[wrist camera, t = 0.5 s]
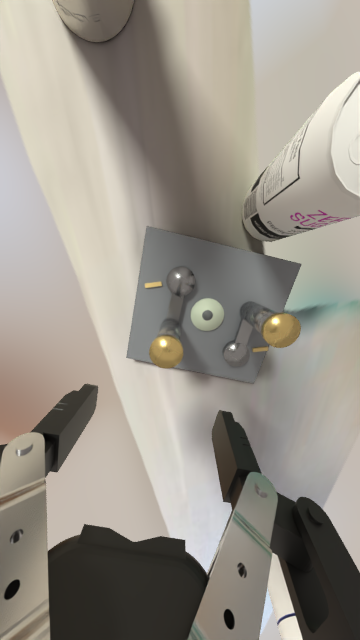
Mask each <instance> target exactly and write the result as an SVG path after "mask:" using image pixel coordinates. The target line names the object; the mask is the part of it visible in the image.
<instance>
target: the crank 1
mask: <svg viewBox="0 0 360 640" xmlns="http://www.w3.org/2000/svg"><path fill="white" fill-rule="evenodd" d="M166 283H167V287H168V289H169V290H170V292H171V293H172V294H171V299H170V304H169V308H168V313H167V318H166V319H164V320H163V321H162V323H161V326H160V329H159V332H158V335H157V338H155V339H154V340H153V342H152V344H151V346H150V349H149V356H150V359H151V360H152V362H153V363H154V364H155V365H157V366H158V367H161V368H172V367H175V366H176V365H178V364H179V363H180V362H181V360H182V358H183V346H182V343H181V342H180V331H181V326H180V323H179V321H178V320H179V316H180V312H181V308H182V303H183V299H184V296H185V295H187V294H189V293H190V292H191V291H192V290H193V289H194V286H195V276H194V274H193V272H192V271H191V270H190V269H188V268H186V267H181V266H180V267H176V268H174V269H172V270H171V271H170V272H169V274H168V276H167V279H166Z"/></svg>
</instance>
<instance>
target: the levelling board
mask: <svg viewBox="0 0 360 640" xmlns="http://www.w3.org/2000/svg"><path fill="white" fill-rule="evenodd" d="M180 266H181V267H186V268H188V269H190V270H191V271H192V272H193V274H194V276H195V286H194V289H193V290H192V291H191V292H190V293H189V294H187V295H185V296H184V299H183V303H182V308H181V312H180V316H179V320H178V321H179V323H180V326H181V331H180V342H181V343H182V346H183V358H182V360H181V362H180V363H179V364H178V365H176V366H175V368H179V369H184V370H189V371H194V372H199V373H204V374H209V375H214V376H219V377H224V378H229V379H234V380H239V381H244V382H249V383H254V382H255V379H256V377H257V374H258V372H259V369H260V367H261V364H262V362H263V359H264V357H265V354H266V352H267V351H268V347H269V344H268V343H267V342H266V341H265V340H264V339H263V337H262V334H261V333H260V332H258V331H257V330H256V329H255V328H254V327H253V328H252V331H251V334H250V337H249V340H248V342H247V345H246V346H247V347H248V349H249V351H250V357H249V360H248V361H247V362H246V363H245V364H244V365H242V366H237V367H234V366H231V365H229V364H228V363H227V362H226V361H225V359H224V357H223V354H222V351H223V348H224V346H225V345H226V344H227V343H228V342H230V341H233V340H234V339H235V336H236V333H237V330H238V327H239V324H240V321H241V318H242V317H241V316H240V309H241V307H242V305H243V304H244V303H246V302H249V301H253V302H256V303H258V304H260V305H262V306H265V307H267V308H269V309H271V310H273V311H276V312H278V313H279V312H283V309H284V307H285V304H286V301H287V299H288V297H289V294H290V292H291V289H292V287H293V284H294V282H295V279H296V276H297V274H298V272H299V269H300V267H301V264H299V263H295V262H291V261H287V260H283V259H279V258H275V257H271V256H267V255H263V254H259V253H255V252H251V251H247V250H242V249H238V248H234V247H230V246H226V245H222V244H218V243H214V242H210V241H206V240H202V239H198V238H194V237H190V236H186V235H182V234H177V233H173V232H169V231H165V230H161V229H157V228H153V227H149V226H147V228H146V235H145V241H144V248H143V254H142V260H141V267H140V273H139V280H138V286H137V292H136V299H135V305H134V312H133V318H132V325H131V331H130V337H129V344H128V350H127V357H126V358H130V359H135V360H140V361H145V362H150V363H153V362H152V360H151V359H150V356H149V349H150V346H151V344H152V342H153V340H154V339H155V338H157V335H158V332H159V329H160V326H161V323H162V321H163V320H164V319H166V318H167V313H168V308H169V304H170V299H171V294H172V293H171V292H170V290H169V289H168V287H167V283H166V279H167V276H168V274H169V272H170V271H171V270H172V269H174V268H176V267H180Z"/></svg>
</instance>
